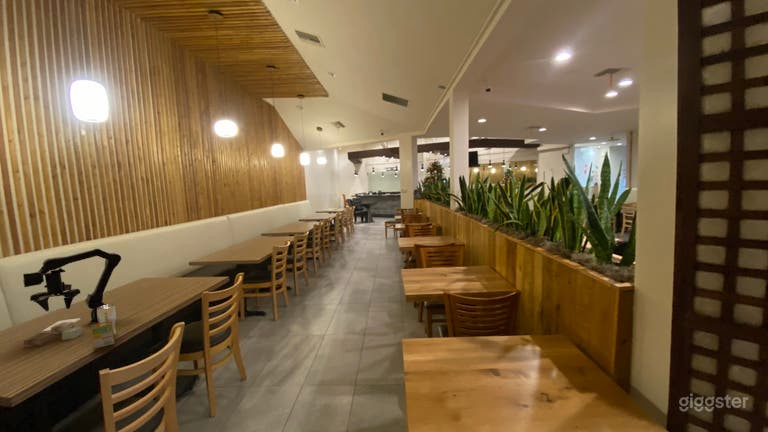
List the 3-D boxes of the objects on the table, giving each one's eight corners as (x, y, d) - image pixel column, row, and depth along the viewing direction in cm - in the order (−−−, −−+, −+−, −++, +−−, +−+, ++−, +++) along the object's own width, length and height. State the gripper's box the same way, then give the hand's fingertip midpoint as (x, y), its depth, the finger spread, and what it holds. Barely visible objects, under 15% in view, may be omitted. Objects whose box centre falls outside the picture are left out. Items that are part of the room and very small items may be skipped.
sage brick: (81, 334, 159) (81, 327, 158) (73, 338, 154) (72, 331, 153) (70, 335, 158) (70, 328, 157) (62, 340, 153) (61, 332, 152)
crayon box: (115, 341, 149) (112, 318, 148) (114, 343, 147) (111, 320, 146) (94, 346, 145) (91, 323, 144) (93, 349, 142) (91, 325, 141)
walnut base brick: (54, 339, 154) (53, 331, 154) (41, 346, 147) (40, 338, 147) (39, 340, 153) (38, 333, 153) (24, 347, 146) (23, 340, 146)
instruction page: (81, 318, 180) (81, 317, 180) (65, 328, 166) (65, 327, 166) (59, 321, 176) (59, 320, 176) (41, 331, 163) (41, 331, 163)
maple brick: (74, 328, 166) (73, 321, 166) (64, 333, 160) (64, 326, 160) (61, 329, 165) (60, 322, 165) (51, 334, 159) (50, 327, 159)
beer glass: (97, 339, 152) (94, 310, 151) (102, 333, 158) (99, 306, 157) (115, 335, 155) (112, 307, 154) (119, 330, 161) (116, 303, 160)
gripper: (85, 275, 172) (89, 302, 173) (45, 279, 167) (49, 306, 169) (70, 281, 161) (74, 309, 162) (27, 285, 157) (31, 314, 158)
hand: (58, 310), depth 163 cm, fingers open, 9 cm apart
